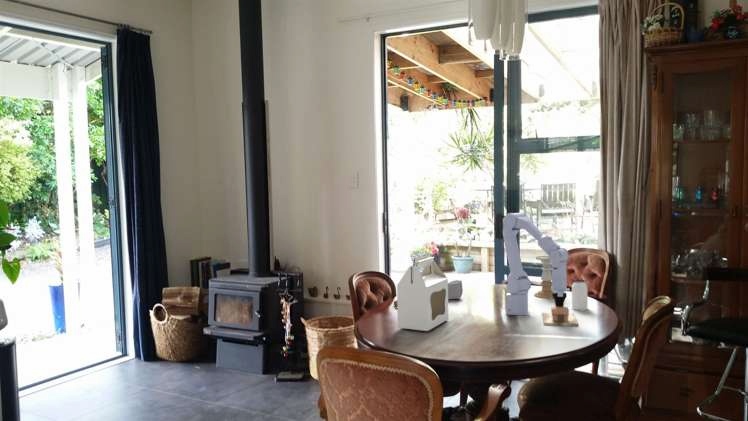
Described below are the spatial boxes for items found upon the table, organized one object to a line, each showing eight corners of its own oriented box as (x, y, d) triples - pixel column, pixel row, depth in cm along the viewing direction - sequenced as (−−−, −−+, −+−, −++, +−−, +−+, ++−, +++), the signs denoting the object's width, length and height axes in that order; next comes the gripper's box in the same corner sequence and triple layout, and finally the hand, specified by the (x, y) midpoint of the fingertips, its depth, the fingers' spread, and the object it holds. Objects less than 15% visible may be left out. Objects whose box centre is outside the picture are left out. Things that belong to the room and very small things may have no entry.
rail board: (543, 325, 223) (543, 315, 222) (542, 314, 240) (542, 305, 240) (578, 326, 219) (578, 316, 219) (574, 316, 237) (574, 306, 236)
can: (588, 311, 245) (588, 283, 245) (573, 310, 247) (572, 283, 246) (586, 307, 252) (585, 281, 251) (571, 307, 253) (570, 281, 252)
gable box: (427, 331, 217) (426, 259, 216) (397, 328, 224) (395, 258, 223) (448, 319, 237) (447, 253, 235) (420, 316, 243) (419, 252, 242)
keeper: (552, 320, 224) (551, 309, 224) (551, 317, 229) (551, 306, 229) (568, 321, 222) (568, 309, 222) (567, 318, 227) (567, 307, 227)
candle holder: (539, 294, 286) (538, 255, 285) (563, 296, 279) (562, 256, 278) (530, 298, 276) (530, 257, 275) (555, 300, 269) (554, 259, 268)
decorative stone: (468, 291, 279) (457, 273, 280) (467, 293, 272) (456, 276, 273) (443, 305, 282) (433, 288, 283) (442, 308, 276) (431, 291, 276)
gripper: (570, 281, 220) (571, 315, 221) (568, 275, 234) (568, 307, 235) (552, 280, 222) (552, 314, 223) (550, 275, 236) (550, 306, 237)
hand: (559, 310), depth 229 cm, fingers closed
